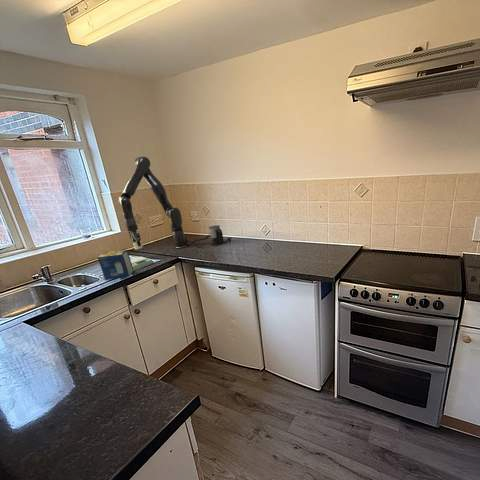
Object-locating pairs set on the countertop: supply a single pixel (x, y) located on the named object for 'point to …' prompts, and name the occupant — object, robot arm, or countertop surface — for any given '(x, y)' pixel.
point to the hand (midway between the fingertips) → (137, 245)
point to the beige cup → (137, 245)
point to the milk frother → (217, 235)
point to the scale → (140, 262)
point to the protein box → (115, 264)
